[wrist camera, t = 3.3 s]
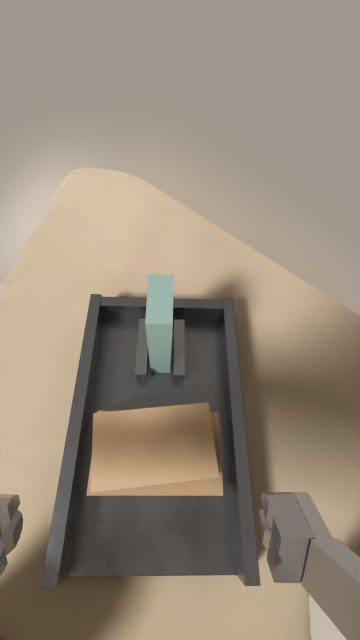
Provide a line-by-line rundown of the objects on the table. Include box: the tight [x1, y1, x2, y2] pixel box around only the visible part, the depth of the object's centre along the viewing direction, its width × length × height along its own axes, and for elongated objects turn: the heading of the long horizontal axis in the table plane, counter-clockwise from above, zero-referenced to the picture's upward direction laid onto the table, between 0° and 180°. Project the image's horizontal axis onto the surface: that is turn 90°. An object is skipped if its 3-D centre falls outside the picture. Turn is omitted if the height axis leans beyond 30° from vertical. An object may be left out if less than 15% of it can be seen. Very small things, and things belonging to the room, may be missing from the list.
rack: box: [40, 294, 260, 588], centre depth 26 cm, size 22×14×3 cm, turn 0°
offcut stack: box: [86, 402, 223, 496], centre depth 23 cm, size 6×10×4 cm, turn 90°
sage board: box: [145, 274, 174, 373], centre depth 25 cm, size 4×2×10 cm, turn 0°
